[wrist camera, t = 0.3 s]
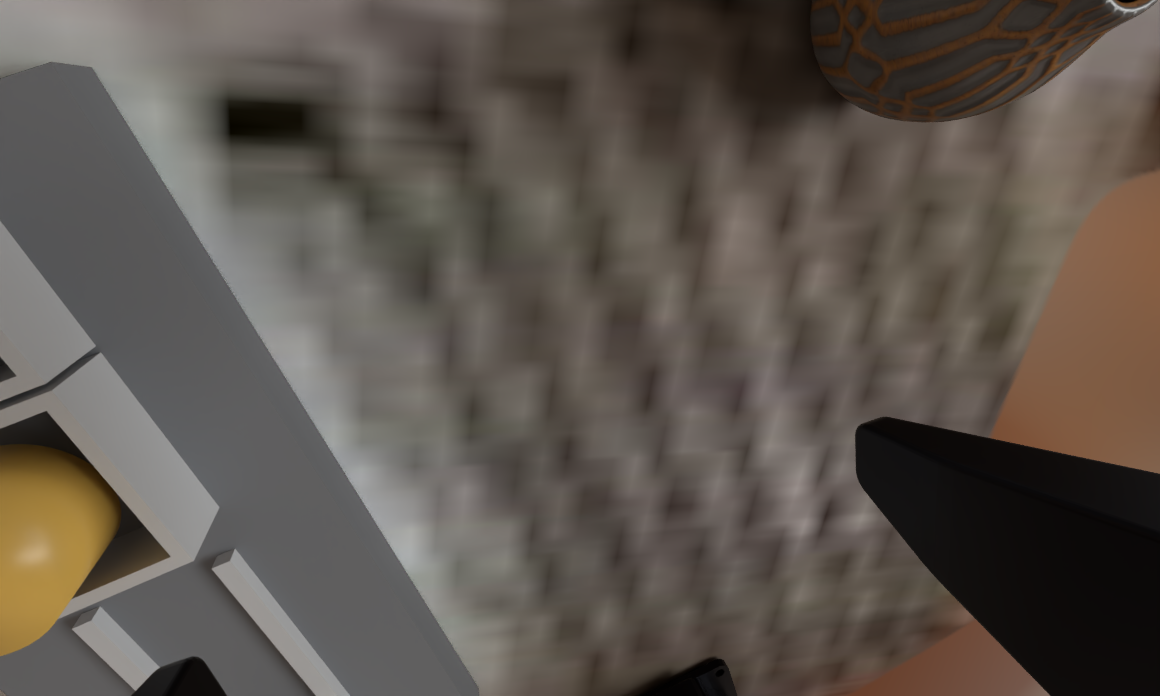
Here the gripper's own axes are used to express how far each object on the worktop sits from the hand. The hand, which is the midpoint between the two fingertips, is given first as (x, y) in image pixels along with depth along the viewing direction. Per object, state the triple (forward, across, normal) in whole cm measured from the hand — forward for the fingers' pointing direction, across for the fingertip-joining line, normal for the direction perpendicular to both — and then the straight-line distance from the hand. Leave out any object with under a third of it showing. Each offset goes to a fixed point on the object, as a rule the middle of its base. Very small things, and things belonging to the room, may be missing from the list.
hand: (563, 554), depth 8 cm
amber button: (+10, +13, +2) cm, 16 cm away
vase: (+14, -16, -6) cm, 22 cm away
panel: (+14, +12, +6) cm, 19 cm away
